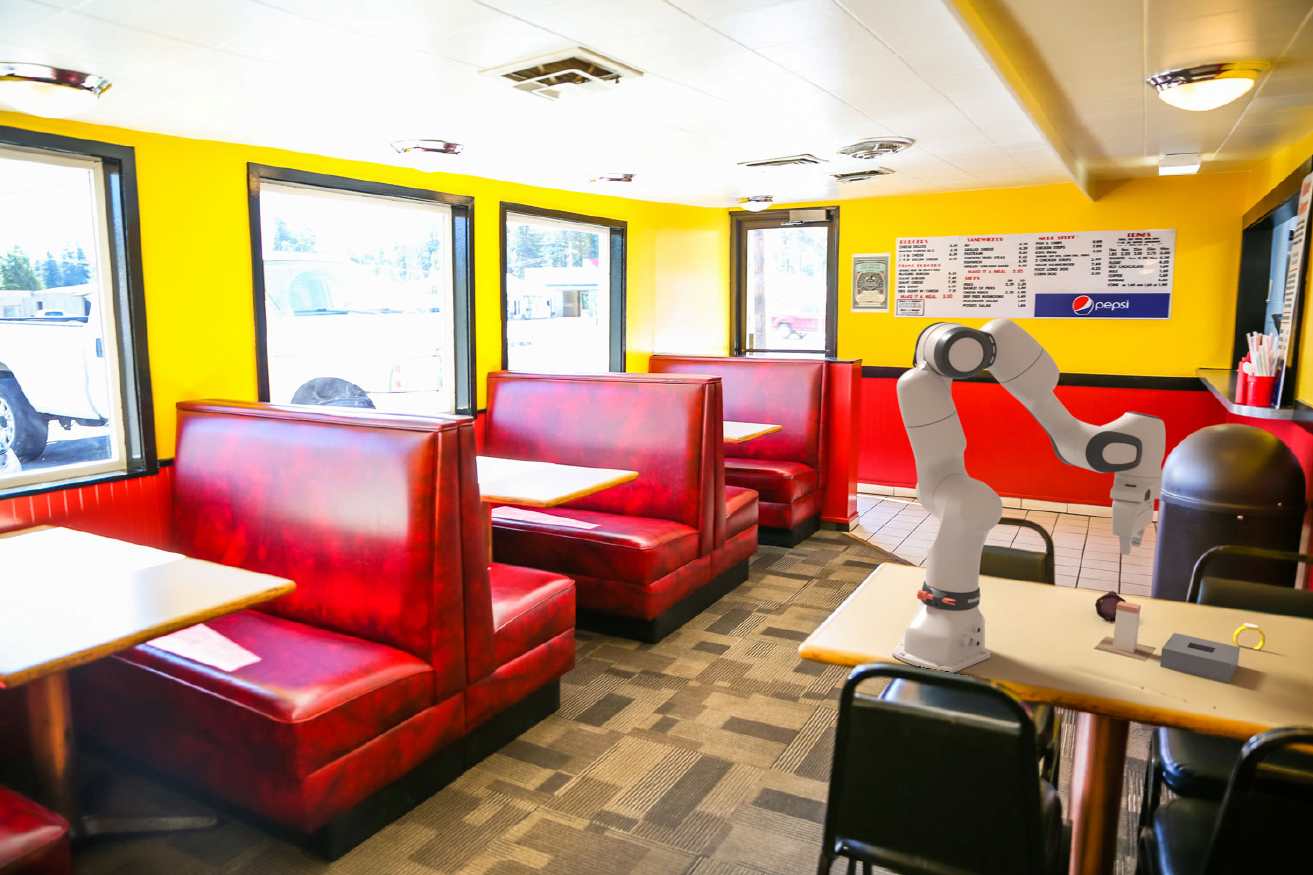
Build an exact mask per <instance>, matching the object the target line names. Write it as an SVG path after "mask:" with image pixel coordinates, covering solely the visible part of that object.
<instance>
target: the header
mask: <svg viewBox="0 0 1313 875" xmlns="http://www.w3.org/2000/svg"><path fill="white" fill-rule="evenodd" d="M1240 650H1241V646H1236V645H1231V644H1227V643H1223V642H1218V641H1214V640H1208V639H1204V638H1200V637H1194V636H1190V635H1187V634H1186V635H1185V634H1183V633H1182V634H1181V633H1177V632H1173V633H1172V634H1171V636H1170V637H1169V639H1167V641H1166V642H1165V644H1164V645H1163V646H1162V648H1161V654H1160V656H1161V657H1160V668H1165V669H1169V670H1173V671H1177V672H1181V673H1184V674H1189V675H1193V676H1198V677H1202V678H1206V679H1209V680H1214V681H1217V682H1221V683H1226V684H1229V683H1230V682H1231V680H1232V678H1233V676H1234V674H1235V672H1236V670H1237V668H1238V666H1239V661H1240V660H1239V658H1240V653H1241V652H1240Z"/></svg>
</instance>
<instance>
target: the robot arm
mask: <svg viewBox="0 0 1313 875" xmlns="http://www.w3.org/2000/svg"><path fill="white" fill-rule="evenodd" d="M914 348H915V349H914V353H913V358H912V366H913V368H910V369H909V370H906V371H905V372H904V373H903V374H902V375H900V377H899V378H898V380H897V383H896V394H897V400H898V405H899V406H898V407H899V411H900V414H901V418H902V421H903V424H904V427H905V431H906V434H907V436H908V439H909V442H910V447H911V449H912V452H913V457H914V459H915V460H914V461H915V468H916V476H917V482H916V484H915V485H916V486H915V495H916V498H917V501H918V503H919V504H920V505H921V506H922V508H923V509H924V510H926V512H927V513H929V514H930V515H932V516H934V517H936V518H938V520H939V526H938V529H937V533H936V536H935V538H934V540H933V542H932V543H931V544H930V545H929V546H928V547H927V552H926V563H925V564H926V566H925V567H926V568H925V580H924V581H923V584H922V587H921V589H918V590H917V592H916V599H917V600H920V601H919V603H918V604H917V607H916V608H915V610H914V612H913V614H912V616H911V617H910V619H909V621H908V623H907V625H906V627H905V632H904V635H903V637H902V638H901V639H900V641H899V642H898V643H897V644H896V646H894V648H893V650H892V652H891V656H893V655H894V656H895V657H896V659H897V658H898V660H899V659H900V661H902V662H904V663H908V664H911V665H913V666H916V667H919V666H921V667H920V668H923V667H925V668H924V669H926V668H936V669H941V670H948V671H953V672H952V673H956V672H958V671H961V670H964V669H965V668H969V667H971V666H973V665H975V664H978V663H981V662H982V661H986V660H988V659H990V658H991V657H992V656H991V655H992V654H991V653H992V652H991V651H990V650H988V648H986V632H985V631H986V625H985V624H986V620H985V617H984V615H983V614H982V612H981V610H980V609H979V605H980V600H981V588H980V586H979V580H980V569H981V568H980V567H981V557H982V552H983V549H984V545H985V542H986V540H987V537H988V535H989V533H990V530H992V529H993V528H994V527H996V526H997V525H998V524H999V522H1000V520H1001V519H1002V515H1003V510H1004V507H1003V502H1002V499H1001V497H1000V496H999V494H998V493H997V492H995V490H993V488H992V487H990V486H989V485H988V484H987V483H985V482H984V481H981V480H979V479H975V478H973V477H970V475H969V474H968V471H967V470H966V466H965V457H964V456H965V455H964V453H965V450H966V448H967V438H966V436H965V433H964V430H963V427H962V424H961V421H960V417H959V414H958V410H957V408H956V405H955V402H954V399H953V397H952V382H953V380H964V379H968V378H971V377H973V376H976V375H978V374H979V373H980V372H982V371H985V370H987V371H988V372H989V373H990V374H991V375H992V376H993V378H995V380H997V382H998V383H999V384H1000V385H1001V386H1002V387H1003V388H1004V389H1005V390H1007V392H1008V393H1009V394H1011V396H1012V397H1014V398H1015V399H1016V400H1017V401H1019V402H1020V403H1021V404H1022V405H1023V406H1024V407H1025V409H1026V410H1027V411H1028V412H1029V414H1030V415H1031V416H1032V417H1033V419H1035V421H1036V422H1037V423H1038V425H1039V426H1040V427H1041V428H1042V429H1043V430H1044V431H1045V433H1046V434H1047V435H1048V437H1049V440H1050V442H1051V446H1052V450H1053V451H1054V454H1055V455H1056V457H1057V458H1058V459H1059V460H1060V461H1061V462H1062V463H1064V464H1066V465H1068V466H1072V467H1073V466H1074V467H1077V468H1083V469H1085V470H1089V471H1093V472H1095V473H1100V474H1109V473H1110V474H1111V473H1112V474H1113V473H1114V479H1113V485H1112V487H1111V489H1110V491H1109V492H1110V494H1109V498H1110V499H1112V505H1111V532H1112V534H1113V535H1114V536H1117V537H1118V540H1119V547H1120V548H1119V554H1121V555H1124V556H1125V555H1126V556H1129V555H1130V554H1131V553H1132V547H1136V548H1138V547H1141V546H1142V544H1143V537H1144V534H1145V531H1146V527H1148V526H1150V524H1152V522H1153V519H1154V511H1155V510H1154V508H1155V507H1154V506H1155V500H1158V499H1160V497H1161V491H1162V480H1163V472H1162V471H1163V470H1162V463H1163V460H1164V457H1165V452H1166V441H1167V440H1166V438H1167V437H1166V435H1167V434H1166V427H1165V422H1164V421H1163V420H1162V419H1161V418H1160V417H1159V416H1156V415H1152V414H1149V413H1148V414H1147V413H1142V412H1136V411H1128V412H1127V411H1126V412H1124V414H1123V415H1122V416H1120V417H1119V418H1117V419H1115V420H1113V421H1111V422H1108V423H1106V424H1103V425H1100V426H1099V425H1095V424H1090V423H1088V422H1085V421H1082V420H1079V419H1078V418H1076V417H1074V416H1073V415H1072V414H1071V413H1070V412H1069V410H1068V409H1067V408H1066V407H1065V405H1063V404H1062V402H1061V400H1059V398H1058V397H1057V396H1056V395H1055V393H1054V391H1053V390H1054V389H1055V388H1056V386H1057V385H1058V382H1059V380H1060V369H1059V367H1058V366H1057V363H1056V362H1055V359H1053V357H1052V355H1050V353H1049V352H1048V351H1047V350H1046V349H1045V348H1044V347H1043V346H1042V345H1041V344H1040V342H1038V341H1037V340H1036V339H1035V338H1034V337H1033V336H1032V335H1031V334H1030V333H1029V332H1027V331H1026V330H1025V329H1024V328H1023V327H1021V326H1020V325H1019V324H1017V323H1016V322H1014V321H1012V319H1009V318H1004V317H999V318H995V319H992V320H990V321H988V322H986V323H985V324H984V325H983V326H982V327H980V328H978V329H976V328H974V327H968V326H965V325H963V324H961V323H958V322H957V323H956V322H947V321H938V322H935V323H931V324H930V325H928V326H926V327H924V329H922V331H920V333H919V335H918V336H917V339H916V343H915V347H914ZM894 656H893V657H894ZM895 657H894V658H895Z"/></svg>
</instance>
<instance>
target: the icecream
mask: <svg viewBox="0 0 1313 875" xmlns="http://www.w3.org/2000/svg"><path fill="white" fill-rule="evenodd" d="M1120 601H1123V602H1127V601H1126V600H1125V599H1124V598H1122V597H1121V596H1120V595H1119V594H1117V592H1116V591H1114V590H1111V591H1108V592H1107V593H1105V594H1103V595H1102V596H1100V597H1098V598H1097V599H1096V602H1095V604H1094V607H1095V610H1096V614H1097V615H1098V617H1100V618H1101V619H1103V620H1105V621H1106V622H1112V623H1115V619H1116V607H1117V604H1118V603H1119V602H1120Z"/></svg>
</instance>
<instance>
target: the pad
mask: <svg viewBox="0 0 1313 875" xmlns="http://www.w3.org/2000/svg"><path fill="white" fill-rule="evenodd" d="M1113 641H1114V637H1111V636H1107V635H1106V636H1105V637H1104V638H1103V639H1101V641H1099V643H1097V644H1096V646H1095V647H1093V650H1098V651H1102V652H1106V653H1111V654H1115V655H1118V656H1122V657H1125V658H1130V659H1131V658H1132V659H1134V660H1139V661H1142V662H1143V661H1144V662H1146V661H1147V659H1148V658H1149V657H1150V656H1151V655H1152V654H1153V652H1154V651H1155V649H1156V647H1154V646H1150V645H1145V644H1141V643H1137V648H1136V650H1135V651H1134V652H1133V653H1132V652H1128V651H1123V650H1119V649H1115V648H1113Z"/></svg>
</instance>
